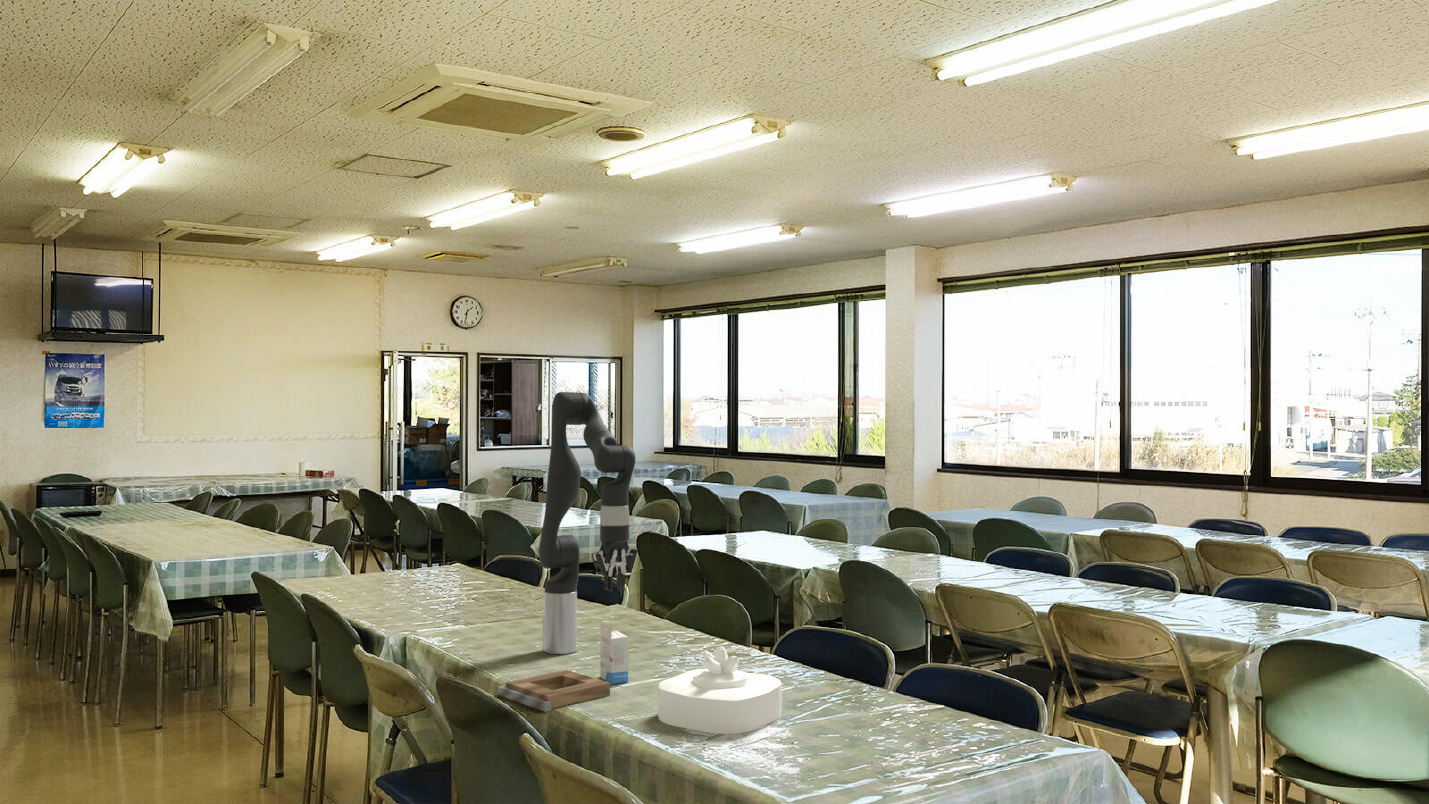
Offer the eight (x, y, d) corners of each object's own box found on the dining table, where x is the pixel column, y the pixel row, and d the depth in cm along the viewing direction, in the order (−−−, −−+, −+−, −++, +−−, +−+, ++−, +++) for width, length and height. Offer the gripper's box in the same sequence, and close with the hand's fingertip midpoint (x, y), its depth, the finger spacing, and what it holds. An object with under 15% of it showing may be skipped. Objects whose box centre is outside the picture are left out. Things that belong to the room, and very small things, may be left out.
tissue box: (740, 739, 220) (740, 663, 220) (643, 721, 233) (643, 649, 233) (794, 711, 241) (794, 641, 241) (703, 695, 254) (703, 629, 254)
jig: (497, 694, 253) (497, 682, 253) (563, 680, 267) (563, 669, 267) (545, 711, 239) (545, 698, 239) (612, 696, 252) (612, 683, 253)
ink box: (629, 682, 265) (629, 624, 266) (610, 684, 263) (610, 626, 263) (617, 675, 273) (617, 618, 273) (599, 677, 271) (599, 620, 271)
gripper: (626, 520, 276) (626, 585, 276) (583, 523, 266) (583, 591, 266) (645, 522, 271) (644, 588, 271) (602, 526, 261) (601, 595, 261)
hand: (614, 589), depth 268 cm, fingers open, 3 cm apart
